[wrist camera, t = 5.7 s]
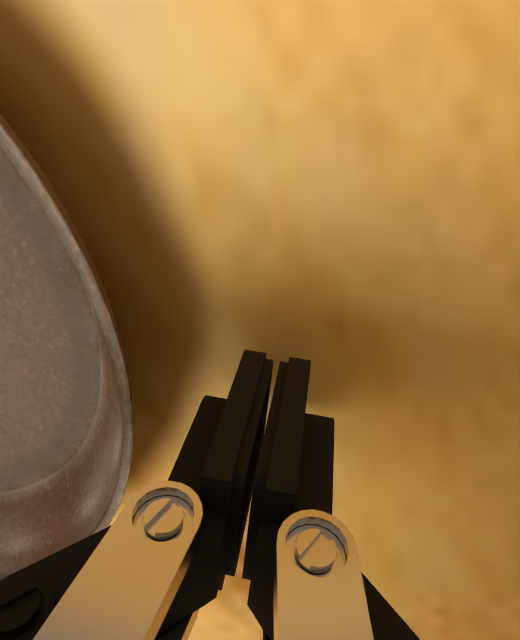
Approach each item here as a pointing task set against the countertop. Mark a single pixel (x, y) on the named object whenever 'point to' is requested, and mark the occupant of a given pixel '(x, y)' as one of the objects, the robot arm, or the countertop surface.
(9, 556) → the plant saucer
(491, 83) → the countertop surface
